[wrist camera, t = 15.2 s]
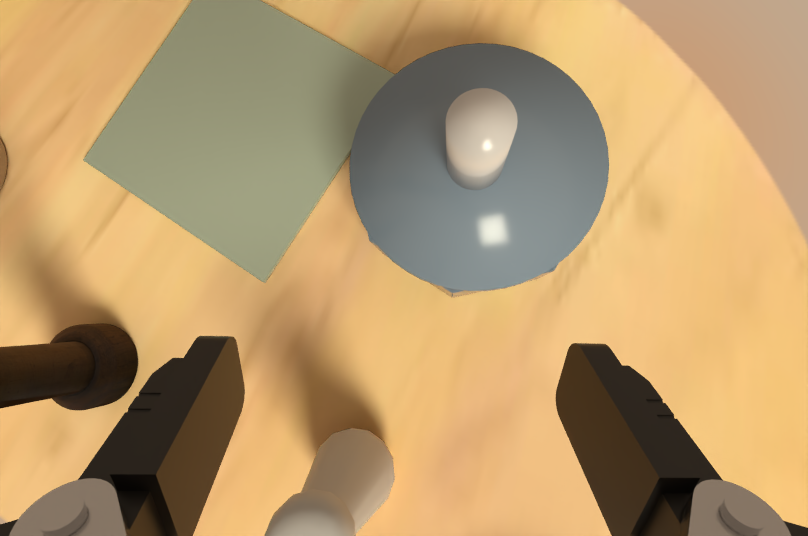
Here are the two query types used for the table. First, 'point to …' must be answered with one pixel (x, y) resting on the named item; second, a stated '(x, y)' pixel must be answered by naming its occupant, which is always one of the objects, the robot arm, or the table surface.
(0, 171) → the robot arm
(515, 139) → the food cover
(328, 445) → the salt shaker
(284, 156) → the rubber mat
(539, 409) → the table surface
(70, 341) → the dark brown tall piece
